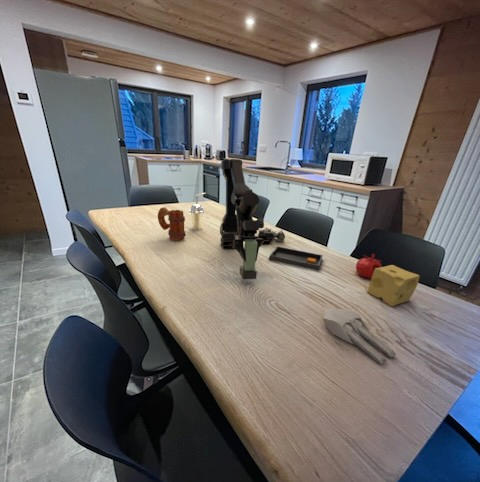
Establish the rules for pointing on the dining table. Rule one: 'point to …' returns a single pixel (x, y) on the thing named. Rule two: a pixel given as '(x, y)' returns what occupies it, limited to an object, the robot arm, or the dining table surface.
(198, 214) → the cup with straw
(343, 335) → the turret
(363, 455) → the dining table surface
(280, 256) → the pan
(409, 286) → the cheese
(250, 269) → the brush
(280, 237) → the brown spiky lump
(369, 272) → the pomegranate
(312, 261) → the crust
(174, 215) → the mug
